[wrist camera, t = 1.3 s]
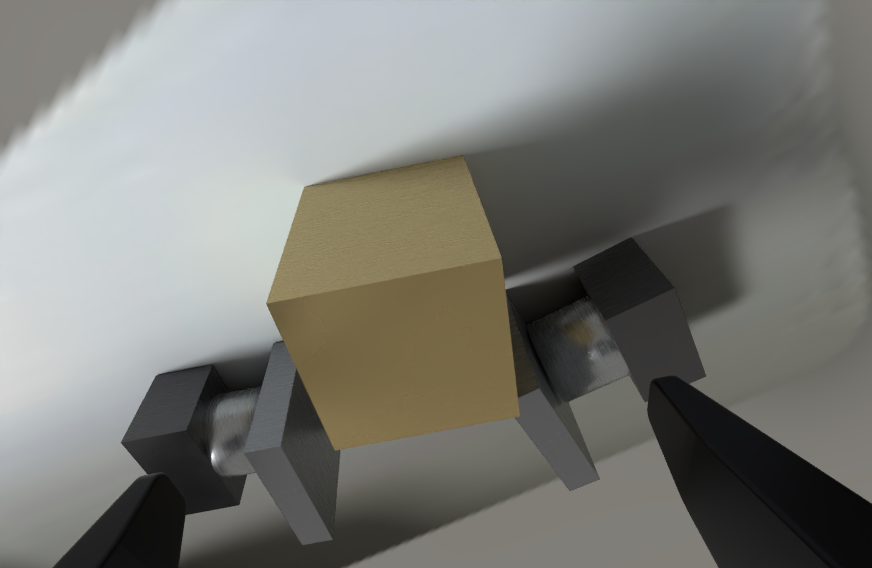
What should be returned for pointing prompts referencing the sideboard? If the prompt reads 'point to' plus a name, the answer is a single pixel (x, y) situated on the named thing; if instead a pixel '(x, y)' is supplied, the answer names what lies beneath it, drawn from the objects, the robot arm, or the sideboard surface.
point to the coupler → (396, 305)
